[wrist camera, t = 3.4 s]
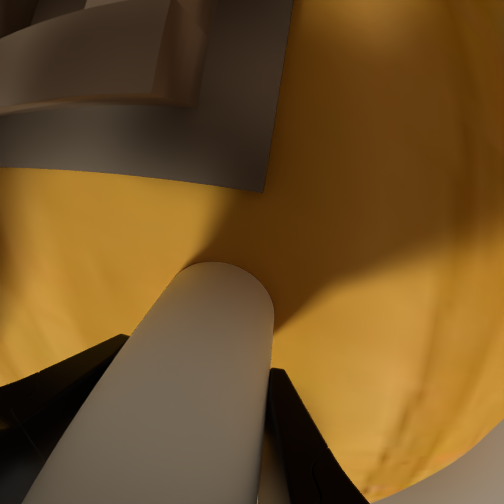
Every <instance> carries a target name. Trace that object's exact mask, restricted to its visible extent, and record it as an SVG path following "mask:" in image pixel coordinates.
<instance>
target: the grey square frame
mask: <svg viewBox="0 0 504 504" xmlns="http://www.w3.org/2000/svg"><path fill="white" fill-rule="evenodd" d="M293 1H294V0H0V167H15V168H40V169H59V170H74V171H88V172H100V173H111V174H122V175H132V176H142V177H151V178H160V179H168V180H176V181H184V182H192V183H199V184H206V185H214V186H220V187H227V188H234V189H240V190H247V191H253V192H259V193H263V190H264V184H265V178H266V172H267V165H268V159H269V153H270V147H271V140H272V134H273V128H274V122H275V115H276V109H277V103H278V96H279V90H280V84H281V78H282V71H283V65H284V59H285V52H286V46H287V40H288V33H289V27H290V21H291V14H292V8H293Z"/></svg>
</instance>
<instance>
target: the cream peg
mask: <svg viewBox="0 0 504 504" xmlns="http://www.w3.org/2000/svg"><path fill="white" fill-rule="evenodd" d="M273 328H274V308H273V303H272V300H271V298H270V296H269V294H268V292H267V290H266V289H265V287H264V286H263V285H262V284H261V283H260V281H259V280H258V279H256V278H255V277H254V276H253V275H252V274H250V273H249V272H247V271H245V270H244V269H242V268H240V267H237V266H234V265H232V264H228V263H224V262H201V263H197V264H194V265H191V266H189V267H187V268H185V269H184V270H182V271H181V272H179V273H178V274H177V275H176V276H175V277H174V278H173V280H172V281H171V282H170V283H169V285H168V286H167V287H166V289H165V290H164V291H163V293H162V294H161V295H160V297H159V298H158V299H157V301H156V302H155V303H154V305H153V306H152V307H151V309H150V310H149V311H148V313H147V314H146V315H145V317H144V318H143V320H142V321H141V322H140V324H139V325H138V326H137V328H136V329H135V330H134V332H133V333H132V335H131V336H130V337H129V339H128V340H127V342H126V343H125V344H124V346H123V347H122V349H121V350H120V351H119V353H118V354H117V356H116V357H115V358H114V360H113V361H112V363H111V364H110V365H109V367H108V368H107V370H106V371H105V373H104V374H103V376H102V377H101V378H100V380H99V381H98V383H97V384H96V386H95V387H94V389H93V390H92V392H91V393H90V395H89V396H88V398H87V399H86V401H85V402H84V403H83V405H82V406H81V408H80V410H79V411H78V413H77V414H76V416H75V417H74V419H73V420H72V422H71V423H70V425H69V426H68V428H67V429H66V431H65V433H64V434H63V436H62V437H61V439H60V440H59V442H58V444H57V445H56V447H55V448H54V450H53V451H52V453H51V455H50V456H49V458H48V460H47V461H46V463H45V464H44V466H43V468H42V469H41V471H40V473H39V474H38V476H37V478H36V479H35V481H34V483H33V485H32V486H31V488H30V490H29V491H28V493H27V495H26V497H25V498H24V500H23V502H22V504H257V496H258V488H259V479H260V470H261V461H262V451H263V442H264V432H265V422H266V411H267V399H268V388H269V376H270V366H271V353H272V341H273Z"/></svg>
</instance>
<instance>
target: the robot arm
mask: <svg viewBox="0 0 504 504" xmlns="http://www.w3.org/2000/svg"><path fill="white" fill-rule="evenodd" d="M129 337H130V336H128V335H125V334H119V335H117V336H115V337H113V338H111V339H108V340H106V341H104V342H102V343H100V344H98V345H96V346H93V347H91V348H89V349H87V350H85V351H83V352H81V353H78V354H76V355H74V356H72V357H70V358H68V359H65V360H63V361H61V362H59V363H57V364H55V365H52V366H50V367H48V368H46V369H44V370H41V371H40V372H39V373H38V372H37V373H35V374H32V375H30V376H28V377H26V378H23V379H21V380H18V381H16V382H13V383H10V384H7V385H5V386H1V387H0V504H22V502H23V500H24V498H25V497H26V495H27V493H28V491H29V490H30V488H31V486H32V485H33V483H34V481H35V479H36V478H37V476H38V474H39V473H40V471H41V469H42V468H43V466H44V464H45V463H46V461H47V460H48V458H49V456H50V455H51V453H52V451H53V450H54V448H55V447H56V445H57V444H58V442H59V440H60V439H61V437H62V436H63V434H64V433H65V431H66V429H67V428H68V426H69V425H70V423H71V422H72V420H73V419H74V417H75V416H76V414H77V413H78V411H79V410H80V408H81V406H82V405H83V403H84V402H85V401H86V399H87V398H88V396H89V395H90V393H91V392H92V390H93V389H94V387H95V386H96V384H97V383H98V381H99V380H100V378H101V377H102V376H103V374H104V373H105V371H106V370H107V368H108V367H109V365H110V364H111V363H112V361H113V360H114V358H115V357H116V356H117V354H118V353H119V351H120V350H121V349H122V347H123V346H124V344H125V343H126V342H127V340H128V339H129ZM258 504H370V503H369V502H368V501H367V500H366V499H365V497H364V496H363V495H362V494H361V493H360V491H359V490H358V489H357V488H356V486H355V485H354V484H353V483H352V481H351V480H350V479H349V478H348V476H347V475H346V474H345V472H344V471H343V470H342V468H341V466H340V465H339V463H338V462H337V460H336V459H335V457H334V455H333V454H332V452H331V450H330V449H329V448H328V445H327V444H326V442H325V440H324V438H323V437H322V435H321V433H320V431H319V430H318V428H317V426H316V425H315V423H314V421H313V419H312V418H311V416H310V414H309V412H308V411H307V409H306V407H305V405H304V404H303V402H302V400H301V398H300V397H299V395H298V393H297V391H296V389H295V388H294V386H293V384H292V382H291V381H290V379H289V377H288V375H287V373H286V372H285V370H284V369H280V368H271V369H270V376H269V388H268V399H267V411H266V422H265V432H264V442H263V451H262V461H261V470H260V479H259V488H258Z"/></svg>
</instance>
